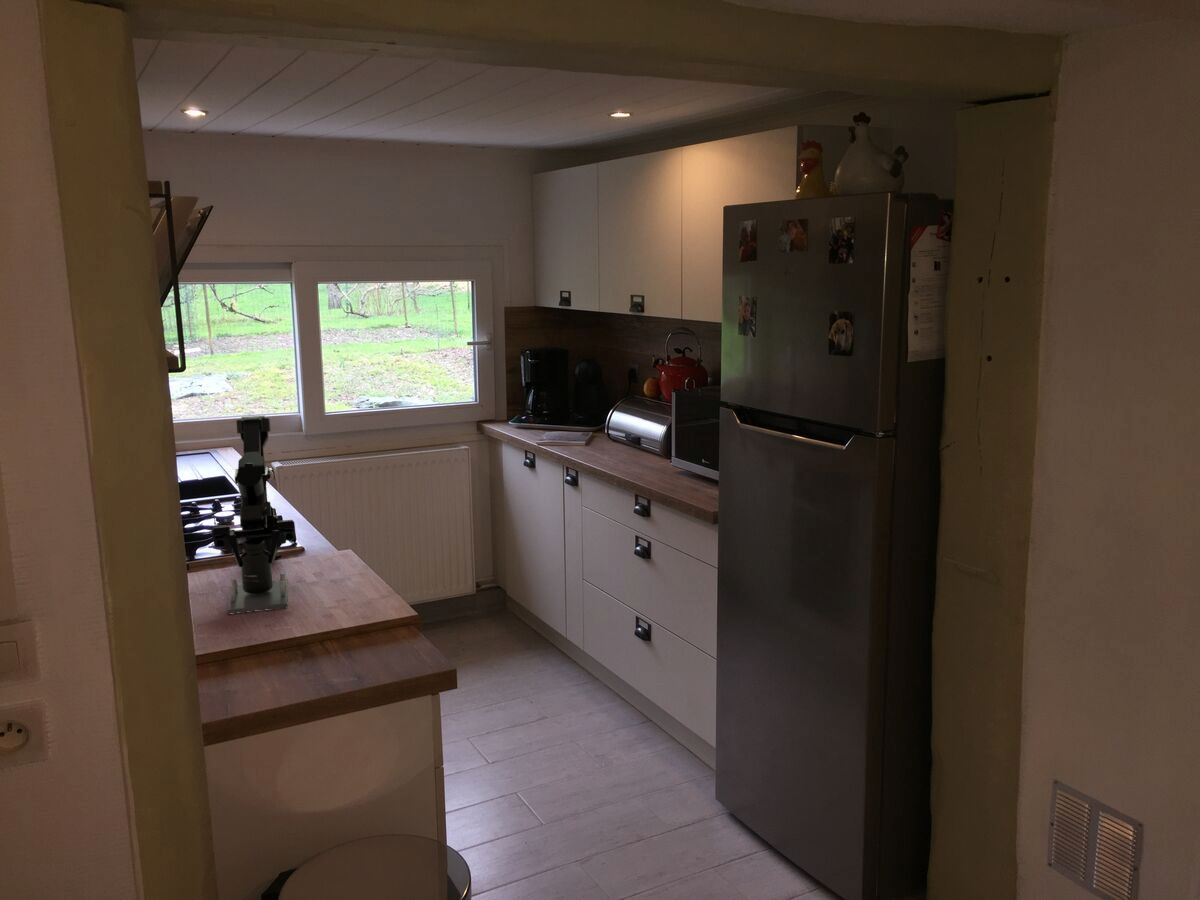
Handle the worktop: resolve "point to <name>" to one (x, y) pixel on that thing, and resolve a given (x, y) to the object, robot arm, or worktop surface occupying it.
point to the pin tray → (258, 597)
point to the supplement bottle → (256, 567)
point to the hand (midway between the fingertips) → (255, 564)
